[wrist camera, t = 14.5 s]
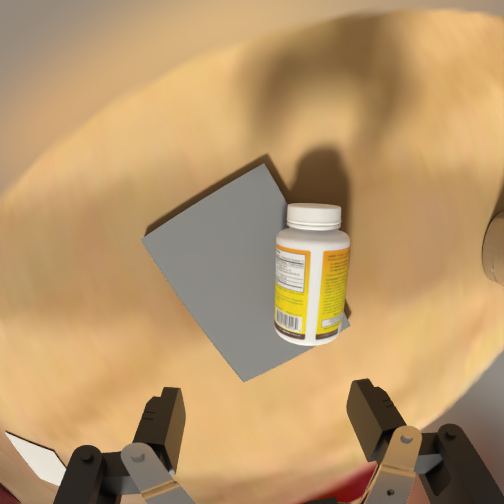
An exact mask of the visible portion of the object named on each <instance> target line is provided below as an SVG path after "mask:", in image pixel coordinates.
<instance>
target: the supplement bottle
mask: <svg viewBox="0 0 504 504" xmlns="http://www.w3.org/2000/svg"><path fill="white" fill-rule="evenodd" d="M340 223H341V207H340V206H336V205H328V204H316V203H293V204H289V205H288V209H287V225H288V226H289V228H286V229H283V230H281V231H280V232H279V233H278V234H277V237H276V271H275V314H274V326H275V330H276V332H277V333H278V335H279V336H280V337H282V338H283V339H285V340H286V341H288V342H291V343H294V344H298V345H305V346H315V345H322V344H325V343H328V342H330V341H332V340H334V339H335V338H336V337H337V336H338V335H339V333H340V331H341V327H342V320H343V312H344V304H345V295H346V286H347V276H348V265H349V253H350V238H349V236H348V235H347V234H346V233H345V232H343V231H340V230H338V229H339V228H340V227H341V224H340Z"/></svg>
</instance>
